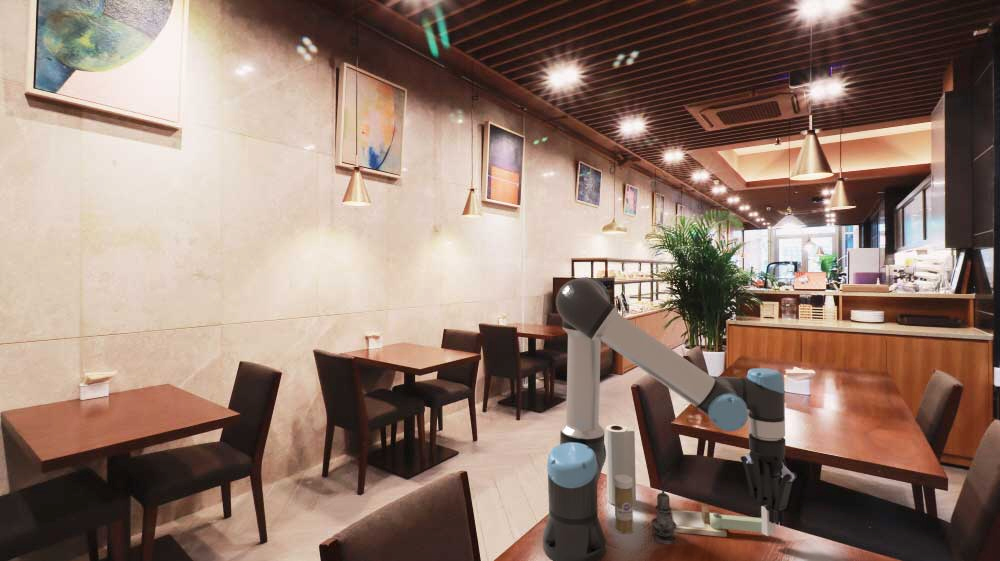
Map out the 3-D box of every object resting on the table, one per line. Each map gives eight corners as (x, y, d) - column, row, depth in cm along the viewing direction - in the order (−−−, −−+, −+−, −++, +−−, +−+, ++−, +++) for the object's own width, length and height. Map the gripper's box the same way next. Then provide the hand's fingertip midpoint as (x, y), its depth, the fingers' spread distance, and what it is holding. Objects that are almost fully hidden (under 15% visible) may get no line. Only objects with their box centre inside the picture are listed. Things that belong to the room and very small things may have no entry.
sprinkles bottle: (621, 536, 118) (620, 483, 117) (611, 526, 122) (610, 475, 122) (637, 532, 119) (636, 479, 119) (626, 522, 124) (625, 472, 123)
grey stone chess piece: (678, 545, 113) (677, 496, 113) (653, 543, 114) (652, 495, 114) (674, 532, 119) (673, 485, 118) (650, 530, 120) (649, 483, 120)
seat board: (675, 532, 119) (674, 515, 118) (670, 513, 127) (670, 498, 127) (726, 537, 116) (726, 520, 116) (718, 517, 125) (718, 502, 124)
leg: (711, 528, 117) (711, 516, 117) (709, 522, 120) (708, 510, 120) (766, 533, 114) (766, 521, 114) (762, 527, 117) (762, 515, 117)
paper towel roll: (603, 498, 137) (601, 425, 136) (620, 494, 139) (618, 422, 138) (618, 510, 130) (616, 433, 129) (636, 505, 132) (634, 430, 132)
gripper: (804, 441, 106) (806, 543, 107) (753, 424, 118) (755, 516, 119) (782, 447, 104) (784, 552, 104) (731, 429, 115) (733, 523, 116)
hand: (768, 533), depth 112 cm, fingers closed
